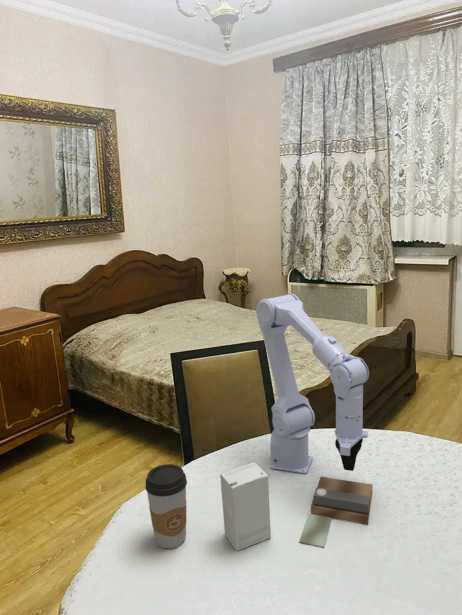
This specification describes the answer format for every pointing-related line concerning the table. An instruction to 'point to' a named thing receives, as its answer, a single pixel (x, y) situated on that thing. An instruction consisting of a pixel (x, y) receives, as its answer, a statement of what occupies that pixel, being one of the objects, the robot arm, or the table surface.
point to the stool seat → (333, 511)
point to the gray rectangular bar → (341, 500)
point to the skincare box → (246, 505)
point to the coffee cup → (167, 504)
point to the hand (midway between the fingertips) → (348, 468)
